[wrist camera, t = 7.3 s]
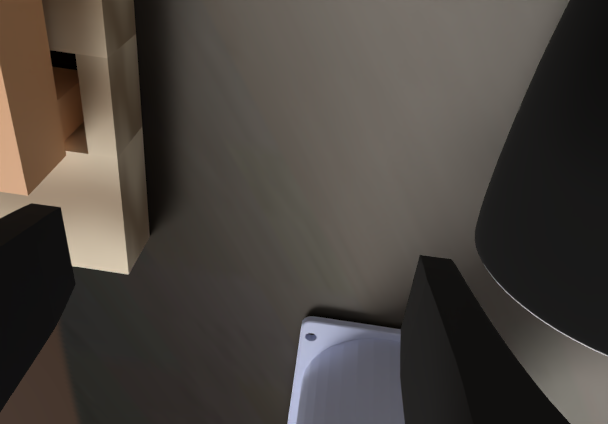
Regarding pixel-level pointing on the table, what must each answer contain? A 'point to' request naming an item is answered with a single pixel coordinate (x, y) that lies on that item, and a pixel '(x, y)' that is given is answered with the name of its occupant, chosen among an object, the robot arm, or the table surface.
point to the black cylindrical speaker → (557, 186)
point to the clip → (32, 99)
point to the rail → (98, 138)
